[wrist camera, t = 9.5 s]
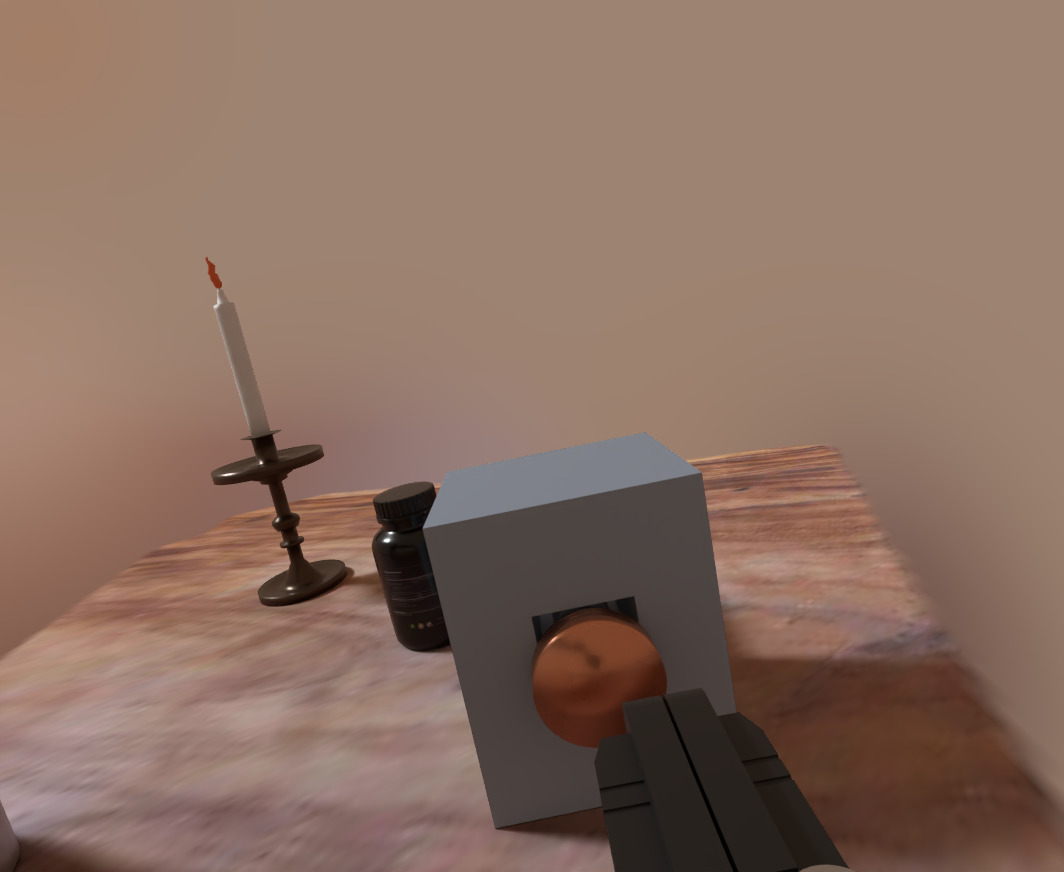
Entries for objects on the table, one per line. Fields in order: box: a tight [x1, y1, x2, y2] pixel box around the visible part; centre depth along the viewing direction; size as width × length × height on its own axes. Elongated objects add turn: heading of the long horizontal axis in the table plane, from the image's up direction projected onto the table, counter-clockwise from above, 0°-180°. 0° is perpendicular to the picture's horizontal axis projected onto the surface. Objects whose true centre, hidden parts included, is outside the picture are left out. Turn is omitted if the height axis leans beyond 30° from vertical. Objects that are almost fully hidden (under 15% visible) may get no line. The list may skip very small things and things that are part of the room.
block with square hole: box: [423, 432, 736, 828], centre depth 30 cm, size 10×12×15 cm
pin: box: [532, 602, 667, 748], centre depth 33 cm, size 20×6×6 cm, turn 2°
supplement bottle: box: [372, 482, 450, 650], centre depth 46 cm, size 7×7×12 cm
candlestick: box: [205, 257, 347, 606], centre depth 59 cm, size 11×11×35 cm
